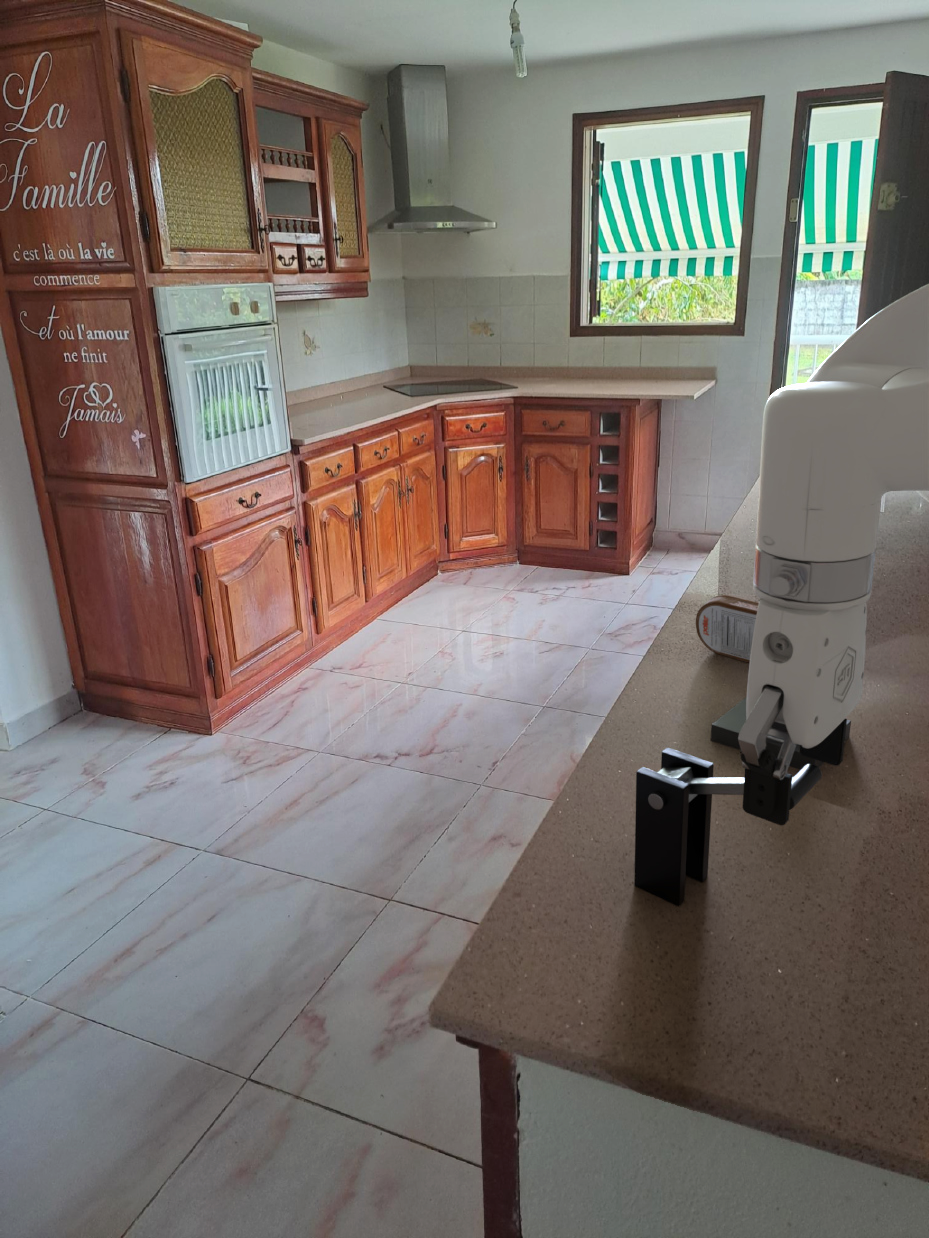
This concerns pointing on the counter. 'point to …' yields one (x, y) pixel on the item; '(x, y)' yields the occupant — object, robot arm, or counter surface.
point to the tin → (727, 626)
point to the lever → (741, 783)
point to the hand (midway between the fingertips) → (794, 786)
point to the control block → (734, 720)
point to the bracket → (671, 828)
